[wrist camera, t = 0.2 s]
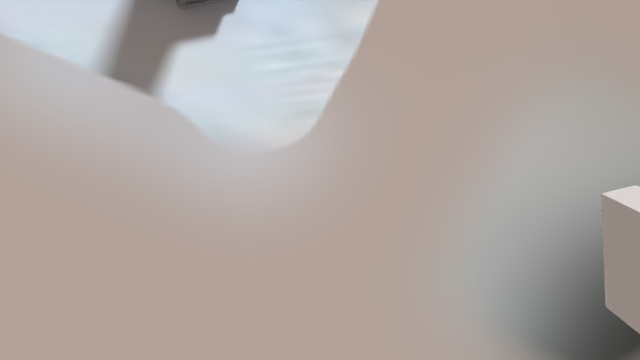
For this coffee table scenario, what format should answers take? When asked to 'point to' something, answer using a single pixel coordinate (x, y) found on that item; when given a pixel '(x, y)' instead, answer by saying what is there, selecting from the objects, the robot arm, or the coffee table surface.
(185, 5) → the switch base
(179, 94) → the coffee table surface
